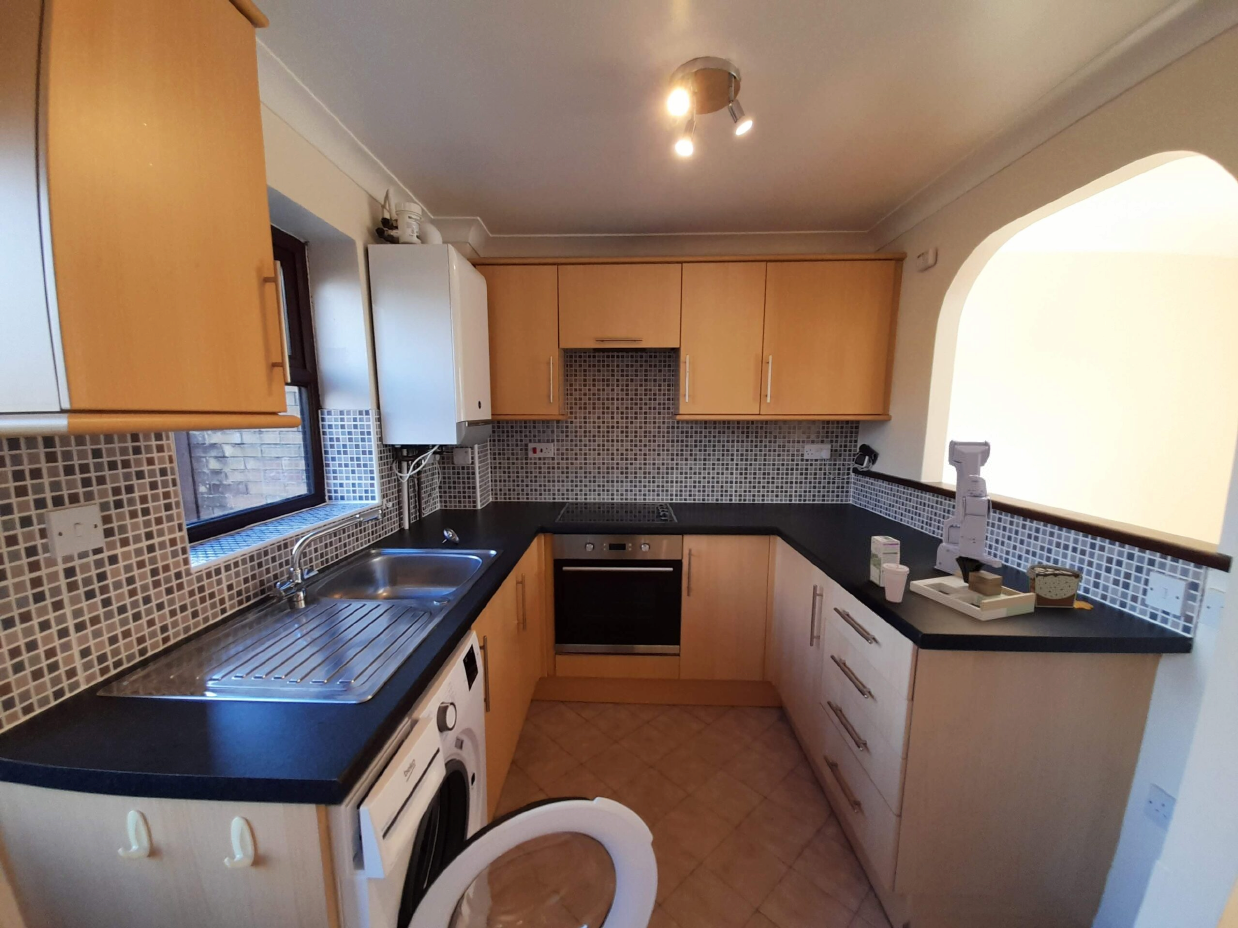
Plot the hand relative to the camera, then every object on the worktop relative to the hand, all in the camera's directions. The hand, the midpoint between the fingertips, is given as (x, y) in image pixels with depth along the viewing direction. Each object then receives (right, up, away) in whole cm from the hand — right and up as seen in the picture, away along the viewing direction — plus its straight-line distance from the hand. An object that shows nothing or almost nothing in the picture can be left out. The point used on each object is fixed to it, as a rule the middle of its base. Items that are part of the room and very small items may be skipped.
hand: (968, 582), depth 120 cm
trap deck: (-3, -4, -3) cm, 6 cm away
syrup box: (-19, -3, +9) cm, 21 cm away
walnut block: (+1, -1, -4) cm, 4 cm away
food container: (+16, -4, -5) cm, 18 cm away
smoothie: (-23, -4, -2) cm, 24 cm away
